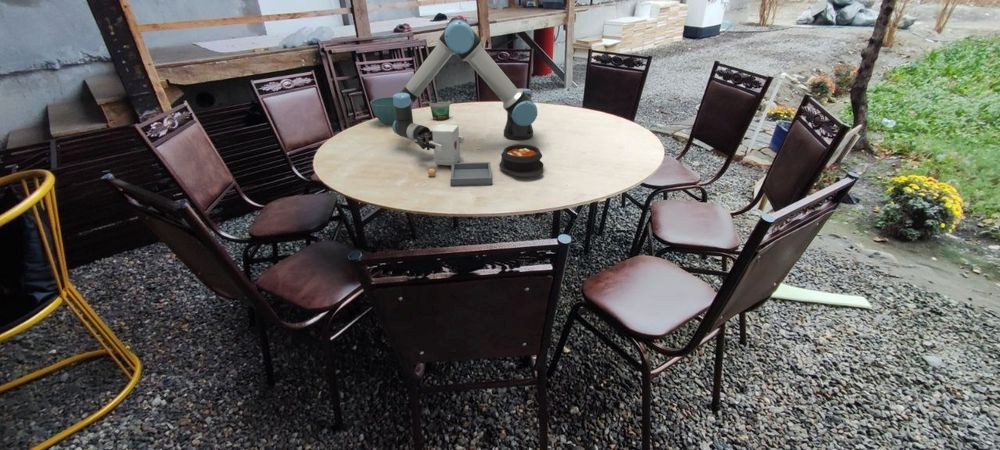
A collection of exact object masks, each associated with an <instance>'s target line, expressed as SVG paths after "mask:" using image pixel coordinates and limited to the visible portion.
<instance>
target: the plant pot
mask: <svg viewBox="0 0 1000 450" xmlns="http://www.w3.org/2000/svg"><path fill="white" fill-rule="evenodd" d="M370 106H371V109H372V111H373V113H374V116H375V117H376V118H377V119H378V121H379V122H380V123H381V124H383V125H384V126H393V123H394V121H395V120H396V116H395V109H394V104H393V96H389V97H388V96H387V97H386V96H385V97H379V98H375V99H373V100H371V101H370Z"/></svg>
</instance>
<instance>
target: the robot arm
mask: <svg viewBox="0 0 1000 450" xmlns="http://www.w3.org/2000/svg"><path fill="white" fill-rule="evenodd" d="M482 44H483V42H482V39H481V38H480V36H478V34H477V33H476V32H475V31H474V29H473V28H472V27H471V25H470V23H469V22H468V21H467V20H465V19H463V18H459V17H458V18H454V19H453V18H452V19H451V20H450V21H449V22H448V23H447V25H446V26H445V28H444V30H443V32H442V33H441V35H440V36H439V37H438V43H437V45H435V47H434V48H433V50H431V52H430V54H429V55H427V57H426V59H425V60H424V61H423V62H422V64H421V65H420V66H419V68H418V69H417V70H416V72H415V73H414V74H413V76H412V77H411V78H410V79H409V81H408V82H407V84H406V85H405V86H404V87H403V89H402V90H401V91H400V92H396V93H394V94H393V96H392V97H393V104H394V109H395V116H396V120H395V121H394V123H393V125H392V127H391V128H392V131H393V132H394V134H396V135H398V136H400V138H405V139H408V140H411V141H414V144H417V145H418V146H419V147H420V148H421V149H422V150H427V151H430V150H431V149H432V150H433V151H434V150H437V151H439V152H442V145H440V144H437V143H434V142H433V134H432V130H431V129H430V128H429V127H427V126H425V125H422V124H419V123H415V122H414V118H413V117H414V116H413V110H412V109H413V105H414V103H415V102H416V101H417V100H418V98H419V97H420V95H421V94H422V93H423V92H424V91H425V89H427V86H428V85H429V84H430V83H431V82H432V81H433V79H434V78H435V77H436V76H437V74H439V72H440V71H441V70H442V68H443V67H444V66H445V64H446V63H447V62H448V61H449V59H450V58H451V57H452V56H453V55H456V56H457V57H458V58H459V59H460V60H461V61H463V62H467V63H468V64H469V65H470V66H471V68H473V70H474V71H475V72H476V73H477V74H478V75H479V76H480V78H481V79H482V80H483V81H484V82H485V83H486V84H487V85H488V87H489V88H490V89H491V90H492V91H493V93H495V95H496V96H497V97H498V98H499V100H501V102H502V103H503V104H502V107H503V109H504V110H505V111H506V116H507V117H506V123H505V126H504V128H503V138H506V139H508V140H512V141H525V140H531V139H532V138H534V133H535V132H534V128H533V123H534V122H535V121H536V119H537V117H538V108H537V105H536V104H535V103H534V101H533V99H532V96H533V94H532V90H531V89H529V88H517V86H516V85H515V84H514V83H513V82H512V81H511V79H510V78H509V77H508V76H507V75H506V73H504V71H503V70H502V69H501V68H500V67H499V65H498V64H497V63H496V62H495V61H494V59H493V58H492V57H491V56H490V55H489V53H488V52H487V51H486V49H485V48H484V47H483V45H482ZM459 144H462V145H463V144H465V137H463V136H462V135H459Z"/></svg>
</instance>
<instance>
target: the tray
mask: <svg viewBox="0 0 1000 450" xmlns="http://www.w3.org/2000/svg"><path fill="white" fill-rule="evenodd" d="M463 186H464V187H468V186H471V187H472V186H473V187H475V186H493V176H492V164H491V161H482V162H480V161H479V162H476V161H475V162H473V161H472V162H457V163H452V166H451V170H450V187H463Z"/></svg>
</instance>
